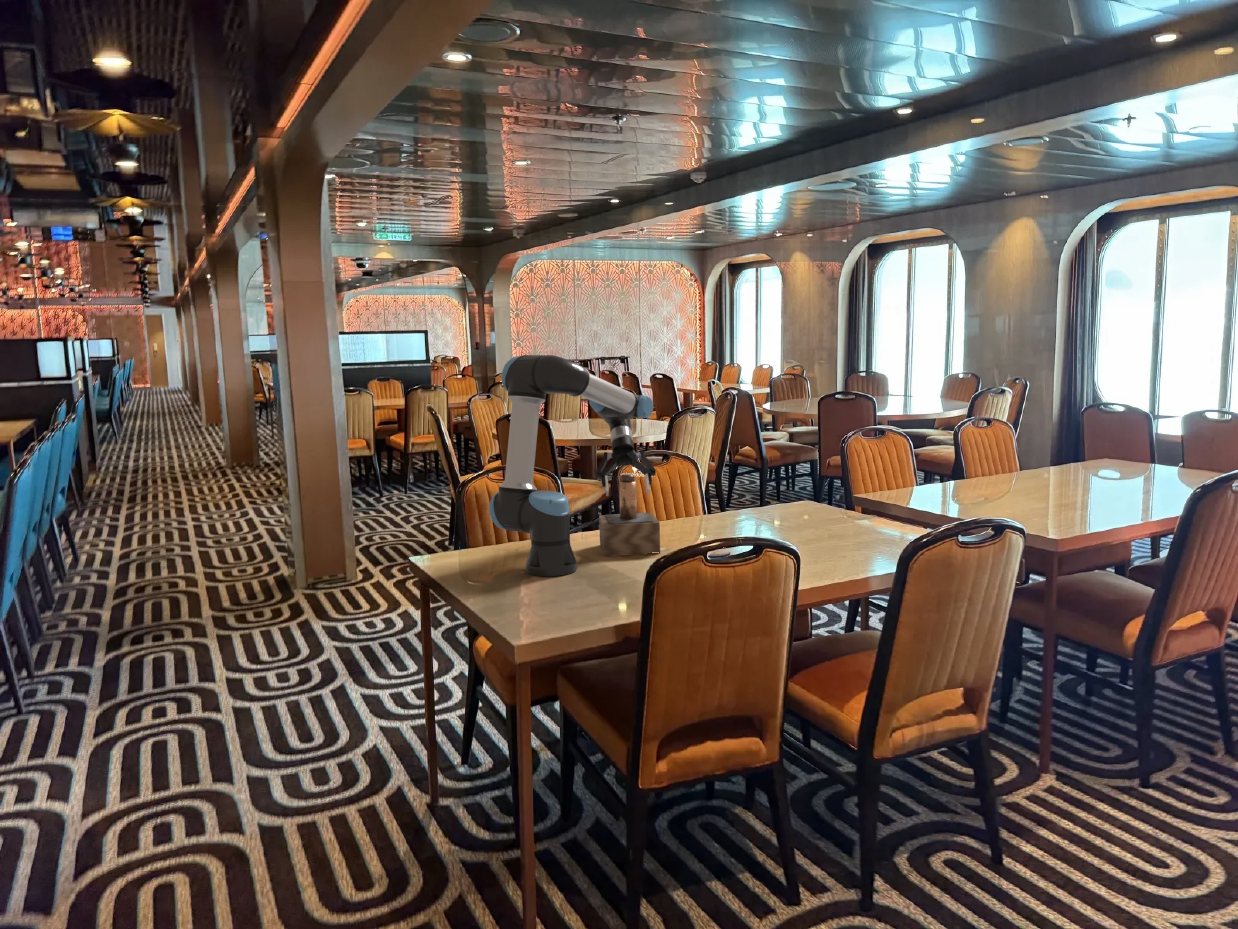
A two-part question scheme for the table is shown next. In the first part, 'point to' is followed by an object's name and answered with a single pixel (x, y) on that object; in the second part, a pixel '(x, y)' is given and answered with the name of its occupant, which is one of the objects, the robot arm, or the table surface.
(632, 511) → the copper pepper mill
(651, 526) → the walnut stand
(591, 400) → the robot arm
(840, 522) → the table surface
